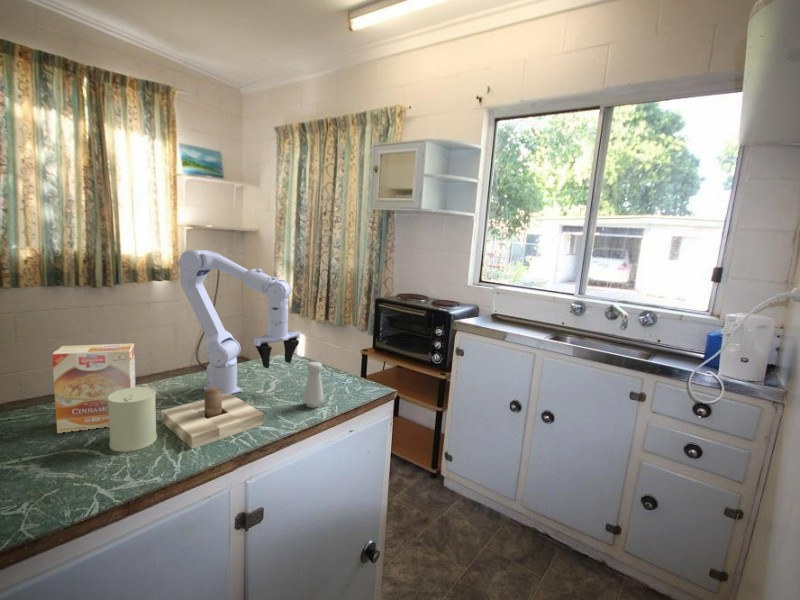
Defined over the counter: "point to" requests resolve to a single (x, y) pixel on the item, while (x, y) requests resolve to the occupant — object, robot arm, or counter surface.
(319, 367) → the salt shaker
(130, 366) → the coffeecake box
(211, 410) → the peg
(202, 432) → the socket block
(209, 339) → the robot arm
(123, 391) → the can
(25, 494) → the counter surface
